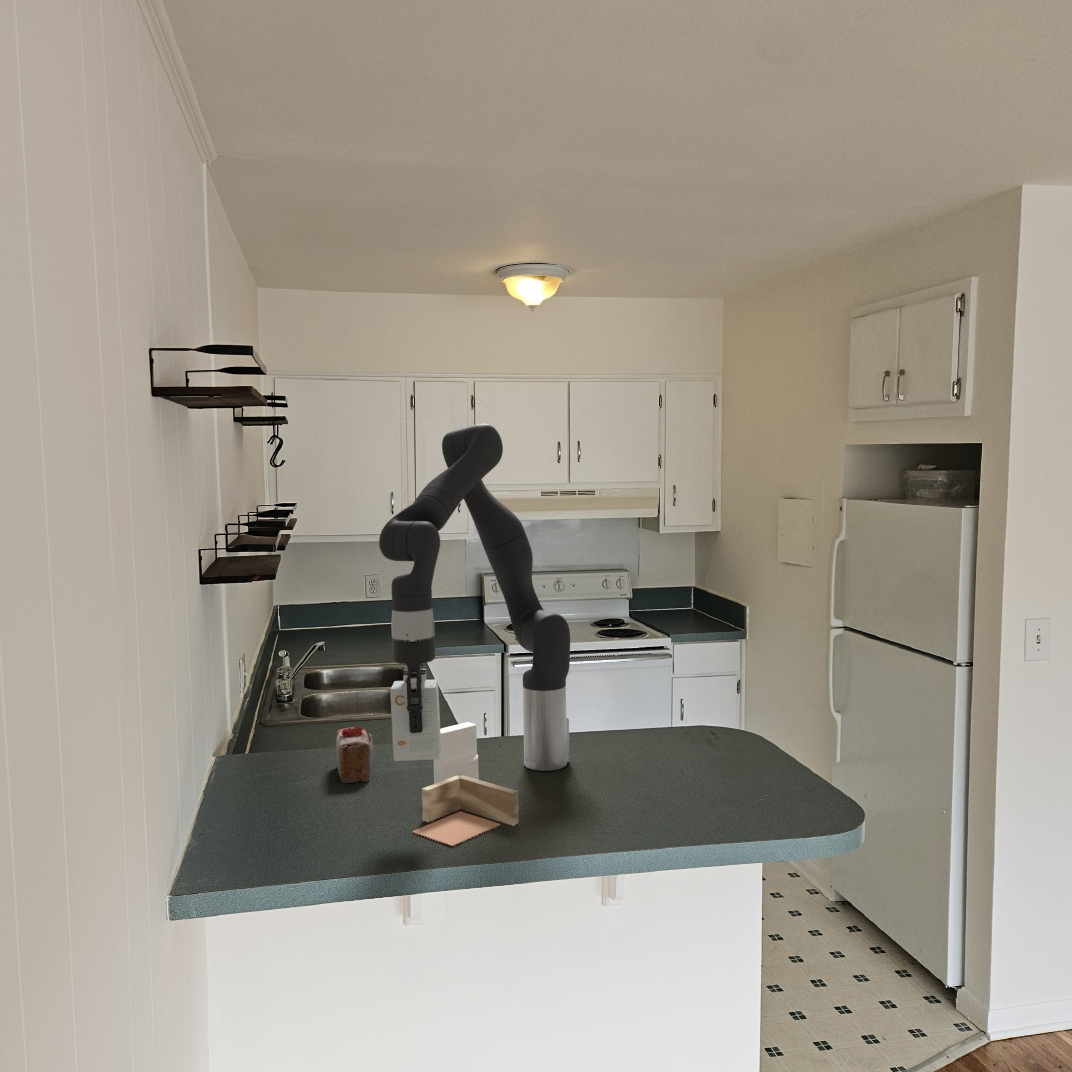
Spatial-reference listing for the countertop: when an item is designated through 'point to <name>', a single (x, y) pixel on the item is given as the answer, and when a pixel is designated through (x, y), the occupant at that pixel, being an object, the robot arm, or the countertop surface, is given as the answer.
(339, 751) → the food item
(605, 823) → the countertop surface
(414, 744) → the small box
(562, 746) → the robot arm
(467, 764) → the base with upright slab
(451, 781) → the wall side
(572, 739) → the countertop surface
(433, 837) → the mat
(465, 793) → the wall back
